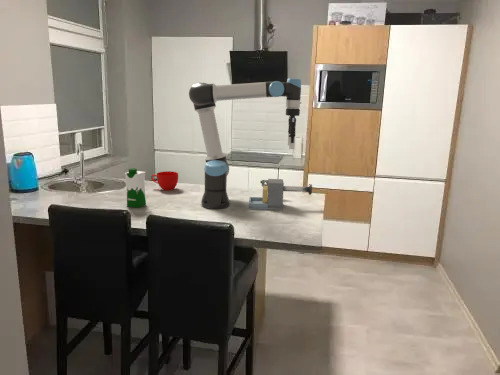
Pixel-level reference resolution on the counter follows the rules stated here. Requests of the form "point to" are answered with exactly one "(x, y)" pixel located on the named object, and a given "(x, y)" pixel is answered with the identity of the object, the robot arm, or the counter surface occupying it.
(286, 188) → the shaft
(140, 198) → the milk carton
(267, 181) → the mechanical component
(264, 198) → the brass ring
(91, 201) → the counter surface
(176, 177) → the ceramic cup
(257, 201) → the tray
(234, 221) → the counter surface
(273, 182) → the bearing block
